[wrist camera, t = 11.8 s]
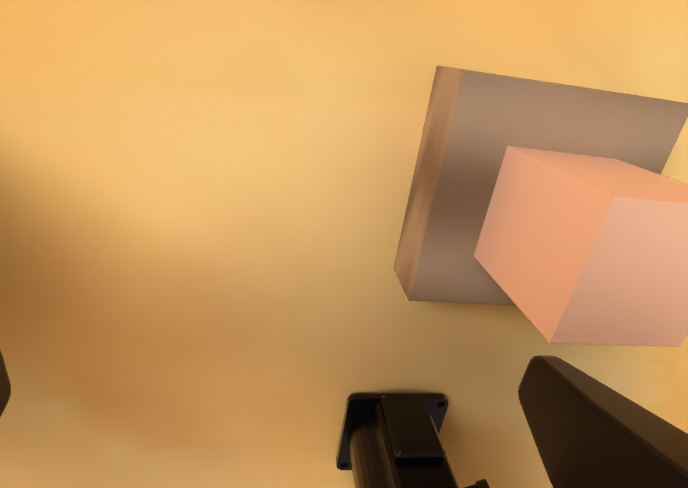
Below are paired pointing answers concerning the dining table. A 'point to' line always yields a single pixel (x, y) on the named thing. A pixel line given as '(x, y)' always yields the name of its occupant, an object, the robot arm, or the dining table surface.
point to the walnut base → (486, 159)
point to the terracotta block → (589, 248)
